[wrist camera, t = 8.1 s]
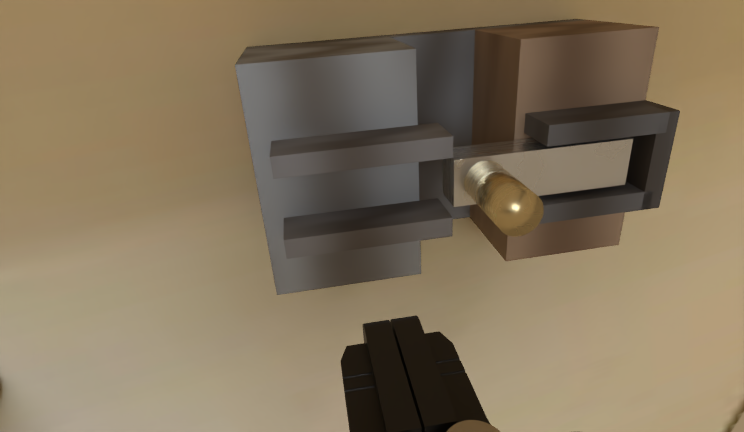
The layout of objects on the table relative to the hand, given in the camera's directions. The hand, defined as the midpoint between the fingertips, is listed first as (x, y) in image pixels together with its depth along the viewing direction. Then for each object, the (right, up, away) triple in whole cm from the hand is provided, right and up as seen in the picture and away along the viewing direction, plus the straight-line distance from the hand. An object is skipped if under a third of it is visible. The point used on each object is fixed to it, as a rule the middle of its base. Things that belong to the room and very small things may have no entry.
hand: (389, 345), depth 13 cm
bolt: (+8, +6, +12) cm, 15 cm away
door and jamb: (+3, +9, +18) cm, 20 cm away
